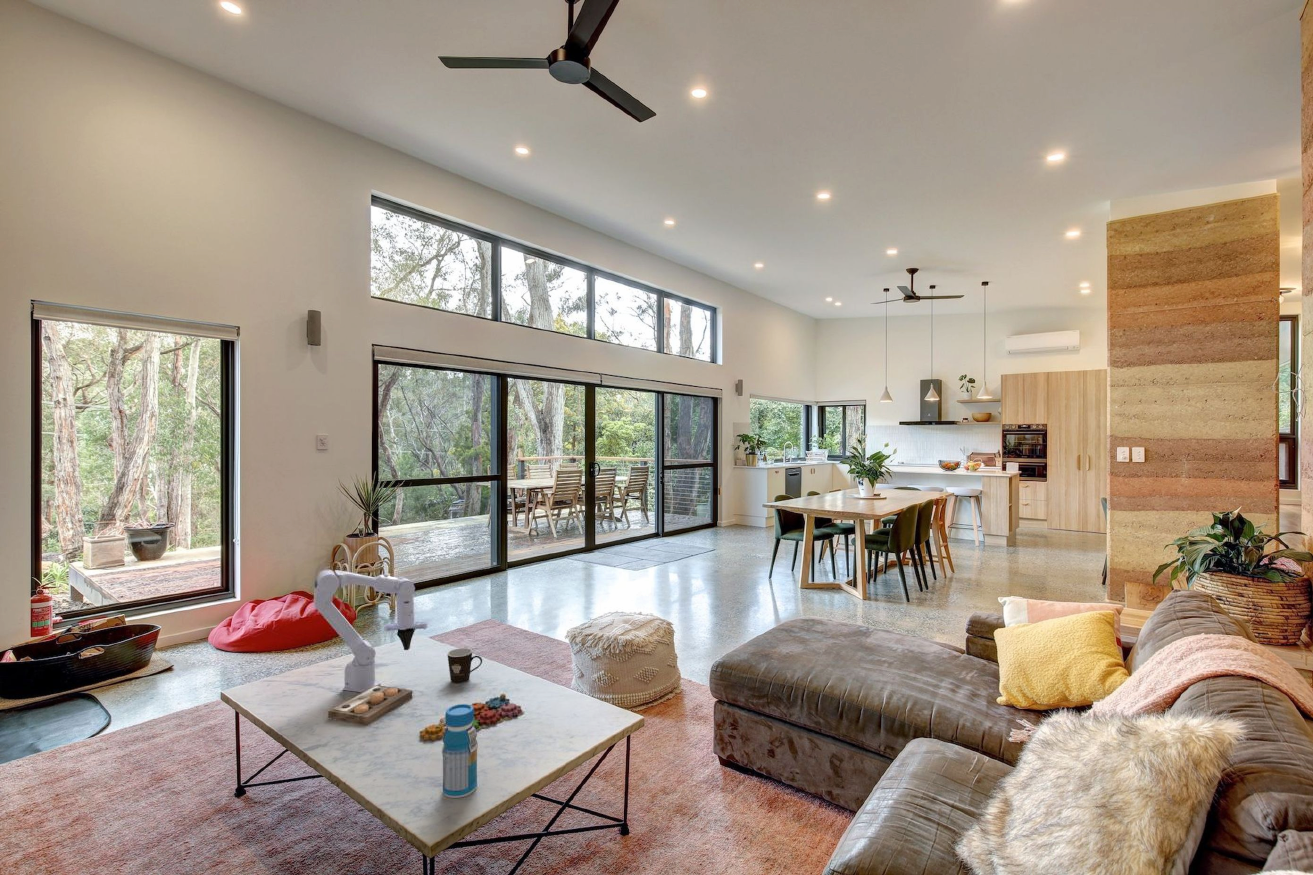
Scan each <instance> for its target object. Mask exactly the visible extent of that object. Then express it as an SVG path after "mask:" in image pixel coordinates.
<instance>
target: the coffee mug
mask: <svg viewBox="0 0 1313 875" xmlns="http://www.w3.org/2000/svg"><path fill="white" fill-rule="evenodd" d="M446 654H447V661H448V663H447V664H448V668H449V669H448V671H449V678H450V683H452V684H455V685H457V684H464V682H465V683H467V682H469V681H470V676H471V675H470V674H471V673H472V672H474V671H475V670H477V669H479V667H481V665H482V663H483V658H482V657H481V656H480V655H474V656H473V649H472V648H469V647H468V648H467V647H459V648H455V649H452V650H449V651H448V652H447V653H446ZM475 658H476V659H477V658H478V659H479V661H480V663H479V664H478V665H477V666H476V667H475V668H473V669H472V668H471V666H472V661H473V660H474V659H475Z"/></svg>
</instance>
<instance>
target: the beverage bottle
mask: <svg viewBox="0 0 1313 875" xmlns="http://www.w3.org/2000/svg"><path fill="white" fill-rule="evenodd" d="M471 705H472V704H469V703H459V704H454V705H452V706H450V707H448V708H447V709H446V710H445V716H446V726H447V727H446V726H445V728H446V730H445V732H444V735H443V738H441V740H442V743H443V744H442V747H441V754H442V793H443V795H444V796H446V797H448V798H452V799H459V798H463V797H464V798H465V797H466V796H467V797H468V796H469V795H470V794H472V793H473V792H474V791H475V790H476V789H477V786H478V744H479V743H478V740H477V737H478V731H476V729H475V727H474V725H473V724H472V723H473V720H474V708H473V706H471ZM445 716H444V717H445Z"/></svg>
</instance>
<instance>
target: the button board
mask: <svg viewBox="0 0 1313 875" xmlns="http://www.w3.org/2000/svg"><path fill="white" fill-rule="evenodd" d="M390 688H394V687H391V686H385V685H375V686H373V687H371V688H369V689H367V690H366V691H364V692H359V693H358V694H356V695H355V696H353V697H351V698H349V699H347V700H345V701H344V702H342V703H339V704H338V705H336V706H333V707H332V708H330V709H329V710H328V711H327V712H328V713H327V719H328V718H331V719H330V720H333V719H336V720H335V721H340V722H345V723H351V724H357V725H363V726H369V725H370V724H372V723H374V722H375V721H377V720H378V719H381V717H383V716H386V714H388V713H391V711H394V710H395V709H396V708H398V707H399V706H401V705H403V704H405V703H407V702H408V701H409V700H411V699H412V698H413V690H412V689H405V688H400V687H399V688H398V687H396V688H397V689H398V694H396V695H394V696H392V697H391V696H385V690H387V689H390ZM376 692H383V693H384V701H383V702H382V703H379V704H370V695H371V694H373V693H376ZM359 705H368V706H369V711H367V712H365V713H363V714H356V713H354V708H355V707H356V706H359Z"/></svg>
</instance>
